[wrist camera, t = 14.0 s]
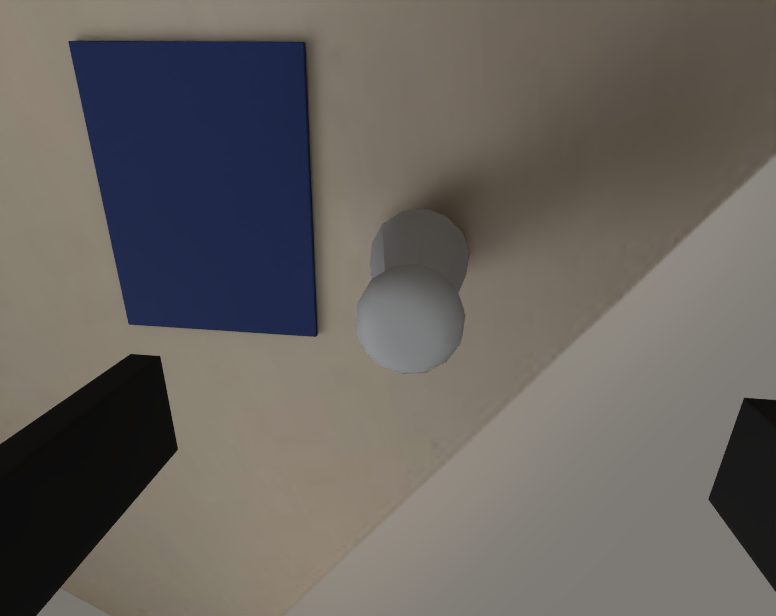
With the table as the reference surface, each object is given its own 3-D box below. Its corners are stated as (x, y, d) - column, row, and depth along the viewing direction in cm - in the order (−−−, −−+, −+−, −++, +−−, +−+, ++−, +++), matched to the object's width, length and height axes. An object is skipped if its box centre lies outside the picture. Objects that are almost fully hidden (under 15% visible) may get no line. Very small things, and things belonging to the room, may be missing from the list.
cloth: (305, 43, 25) (303, 41, 25) (317, 334, 32) (316, 336, 31) (73, 42, 26) (67, 40, 26) (132, 322, 33) (128, 324, 32)
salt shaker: (406, 306, 30) (384, 422, 18) (358, 235, 29) (299, 310, 17) (483, 261, 28) (515, 356, 16) (436, 184, 27) (433, 225, 15)
